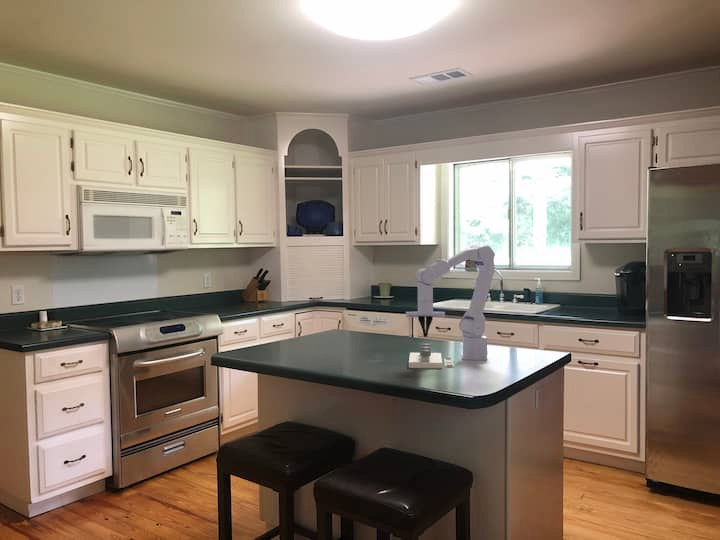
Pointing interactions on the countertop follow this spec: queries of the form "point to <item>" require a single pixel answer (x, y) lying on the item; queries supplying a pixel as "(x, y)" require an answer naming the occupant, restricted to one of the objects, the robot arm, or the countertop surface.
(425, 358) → the button
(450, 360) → the card
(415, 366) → the board
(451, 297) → the countertop surface
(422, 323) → the robot arm
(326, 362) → the countertop surface
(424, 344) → the button
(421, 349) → the button
